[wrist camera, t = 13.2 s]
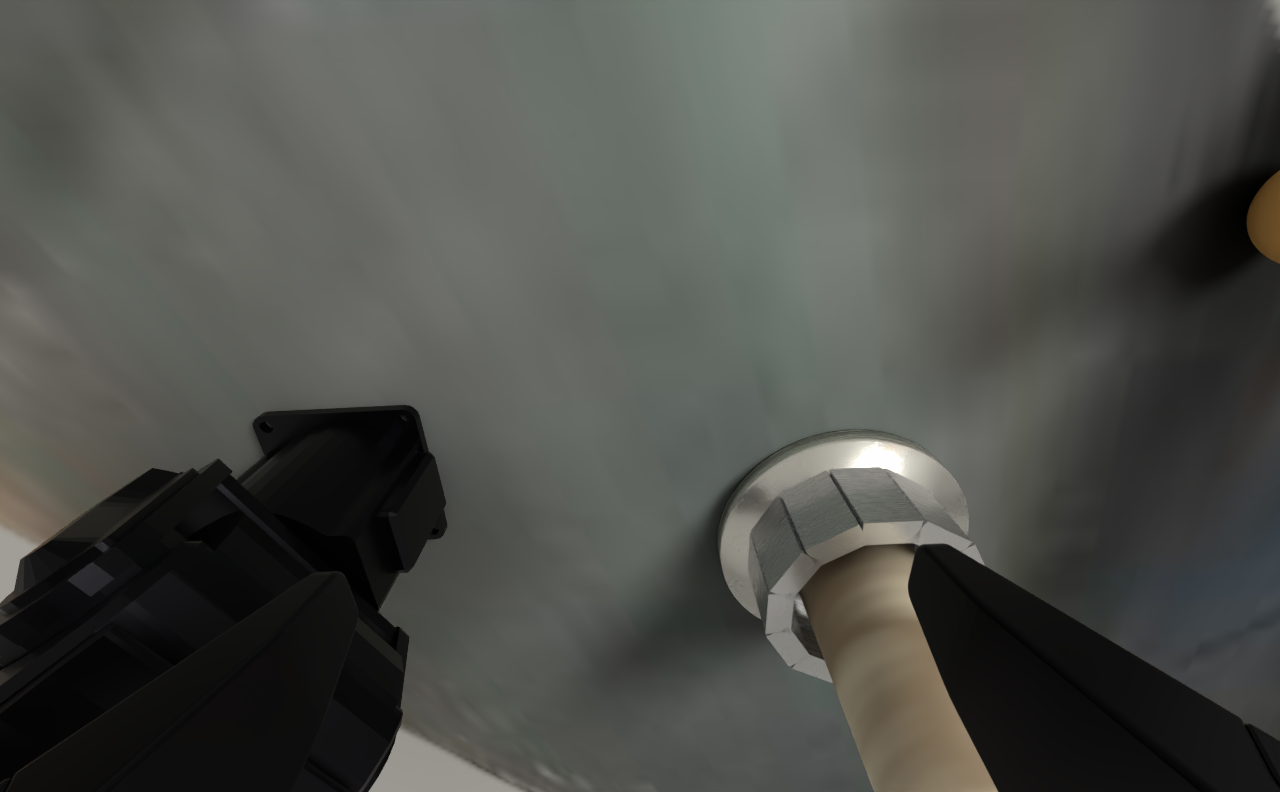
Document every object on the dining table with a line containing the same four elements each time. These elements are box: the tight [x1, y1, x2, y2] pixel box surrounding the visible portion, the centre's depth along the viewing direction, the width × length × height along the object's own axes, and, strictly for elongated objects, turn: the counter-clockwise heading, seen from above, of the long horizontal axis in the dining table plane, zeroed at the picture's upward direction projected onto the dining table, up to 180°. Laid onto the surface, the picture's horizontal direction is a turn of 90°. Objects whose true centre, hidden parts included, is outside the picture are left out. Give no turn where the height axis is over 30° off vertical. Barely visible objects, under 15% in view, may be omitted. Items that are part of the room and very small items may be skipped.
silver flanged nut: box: [717, 430, 985, 683], centre depth 22 cm, size 11×11×4 cm
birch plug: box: [799, 543, 998, 792], centre depth 18 cm, size 5×5×13 cm
